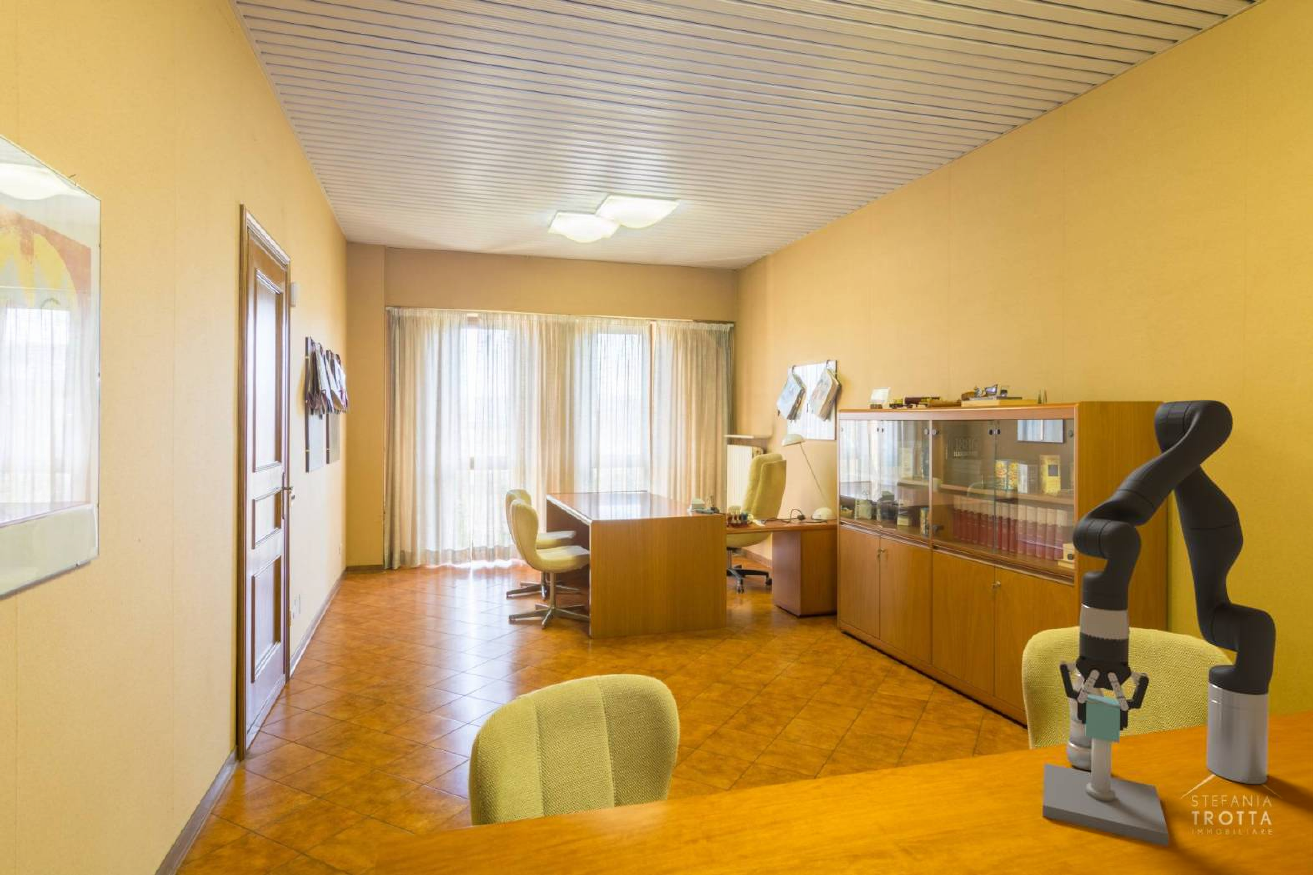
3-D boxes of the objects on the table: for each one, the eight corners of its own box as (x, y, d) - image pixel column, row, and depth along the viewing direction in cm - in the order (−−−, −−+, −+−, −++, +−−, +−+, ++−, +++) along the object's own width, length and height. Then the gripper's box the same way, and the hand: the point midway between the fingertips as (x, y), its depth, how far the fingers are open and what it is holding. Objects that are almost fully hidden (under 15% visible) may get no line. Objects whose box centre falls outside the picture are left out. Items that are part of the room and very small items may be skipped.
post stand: (1044, 773, 141) (1045, 682, 141) (1155, 796, 133) (1157, 699, 132) (1042, 816, 126) (1044, 713, 125) (1168, 846, 117) (1170, 736, 116)
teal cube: (1085, 726, 132) (1085, 693, 132) (1117, 732, 130) (1117, 699, 130) (1086, 736, 128) (1086, 703, 128) (1119, 742, 125) (1120, 708, 125)
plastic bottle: (1093, 760, 147) (1094, 662, 147) (1110, 776, 140) (1112, 674, 140) (1059, 758, 148) (1061, 661, 147) (1075, 774, 141) (1077, 672, 141)
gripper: (1150, 632, 128) (1147, 726, 129) (1057, 620, 135) (1055, 710, 136) (1155, 642, 122) (1152, 742, 122) (1058, 630, 129) (1055, 724, 129)
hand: (1101, 725), depth 129 cm, fingers closed on teal cube, 5 cm apart
